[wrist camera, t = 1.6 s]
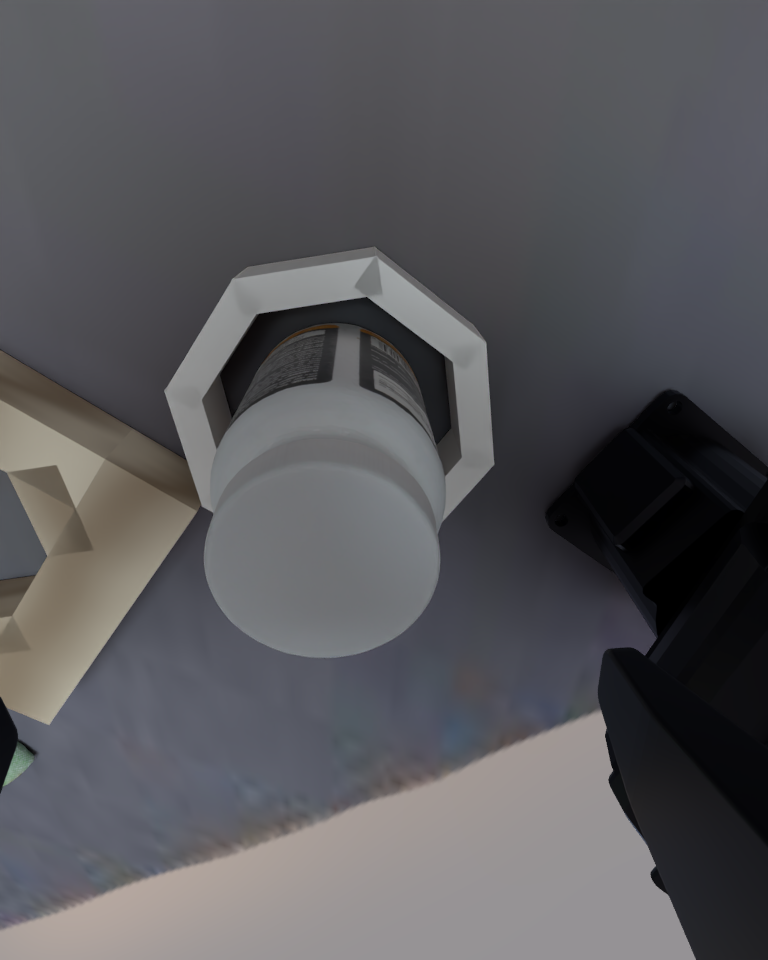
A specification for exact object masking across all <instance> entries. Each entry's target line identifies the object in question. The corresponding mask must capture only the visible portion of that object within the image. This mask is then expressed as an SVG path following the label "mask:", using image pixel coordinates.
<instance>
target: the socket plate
mask: <svg viewBox="0 0 768 960" xmlns="http://www.w3.org/2000/svg"><path fill="white" fill-rule="evenodd" d="M0 469H1V470H3V471H4V472H6V473H7V474H8V476H9V478H10V480H11V482H12V484H13V486H14V488H15V490H16V492H17V494H18V496H19V499H20V501H21V503H22V505H23V507H24V509H25V511H26V513H27V515H28V517H29V519H30V521H31V523H32V525H33V527H34V529H35V531H36V533H37V535H38V538H39V540H40V542H41V544H42V546H43V548H44V550H45V552H46V554H47V558H46V560H45V561H44V563H43V565H42V566H41V568H40V570H39V571H38V573H37V575H36V576H29V577H22V578H15V579H8V580H0V697H1V698H2V700H3V702H4V704H5V706H6V707H7V708H9V709H11V710H14V711H16V712H19V713H21V714H23V715H26V716H28V717H31V718H33V719H35V720H38V721H40V722H43V723H45V724H48V725H49V724H50V723H51V721H52V720H53V718H54V717H55V716H56V714H57V713H58V711H59V710H60V708H61V707H62V706H63V704H64V703H65V701H66V700H67V698H68V697H69V695H70V694H71V693H72V691H73V690H74V688H75V687H76V685H77V684H78V683H79V681H80V680H81V678H82V677H83V675H84V674H85V672H86V671H87V670H88V668H89V667H90V665H91V664H92V662H93V661H94V660H95V658H96V657H97V655H98V654H99V652H100V651H101V649H102V648H103V647H104V645H105V644H106V642H107V641H108V639H109V638H110V637H111V635H112V634H113V632H114V631H115V629H116V628H117V626H118V625H119V624H120V622H121V621H122V619H123V618H124V616H125V615H126V614H127V612H128V611H129V609H130V608H131V606H132V605H133V603H134V602H135V601H136V599H137V598H138V596H139V595H140V593H141V592H142V591H143V589H144V588H145V586H146V585H147V583H148V582H149V580H150V579H151V578H152V576H153V575H154V573H155V572H156V570H157V569H158V568H159V566H160V565H161V563H162V562H163V560H164V559H165V557H166V556H167V555H168V553H169V552H170V550H171V549H172V547H173V546H174V545H175V543H176V542H177V540H178V539H179V537H180V536H181V534H182V533H183V532H184V530H185V529H186V527H187V526H188V524H189V523H190V521H191V520H192V519H193V517H194V516H195V514H196V513H197V511H198V509H199V507H200V505H201V502H200V498H199V495H198V492H197V489H196V486H195V483H194V480H193V477H192V474H191V471H190V468H189V465H188V462H187V460H185V459H183V458H182V457H180V456H178V455H177V454H175V453H173V452H172V451H170V450H168V449H167V448H165V447H163V446H161V445H160V444H158V443H156V442H155V441H153V440H151V439H150V438H148V437H146V436H145V435H143V434H141V433H139V432H138V431H136V430H134V429H133V428H131V427H129V426H128V425H126V424H124V423H123V422H121V421H119V420H118V419H116V418H114V417H112V416H111V415H109V414H107V413H106V412H104V411H102V410H101V409H99V408H97V407H96V406H94V405H92V404H90V403H89V402H87V401H85V400H84V399H82V398H80V397H79V396H77V395H75V394H74V393H72V392H70V391H68V390H67V389H65V388H63V387H62V386H60V385H58V384H57V383H55V382H53V381H52V380H50V379H48V378H47V377H45V376H43V375H41V374H40V373H38V372H36V371H35V370H33V369H31V368H30V367H28V366H26V365H25V364H23V363H21V362H19V361H18V360H16V359H14V358H13V357H11V356H9V355H8V354H6V353H4V352H3V351H1V350H0Z"/></svg>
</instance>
